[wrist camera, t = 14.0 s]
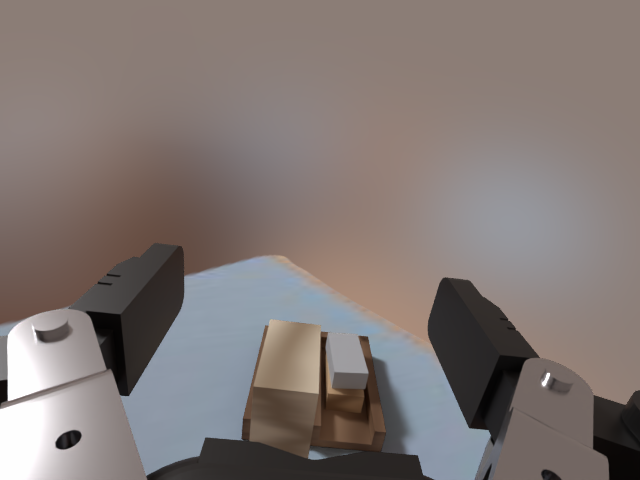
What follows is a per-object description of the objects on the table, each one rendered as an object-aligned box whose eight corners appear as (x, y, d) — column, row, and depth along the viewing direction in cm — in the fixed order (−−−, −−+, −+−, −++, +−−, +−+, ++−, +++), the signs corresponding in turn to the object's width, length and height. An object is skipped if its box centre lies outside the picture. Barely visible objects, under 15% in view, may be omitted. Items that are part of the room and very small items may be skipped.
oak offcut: (325, 409, 42) (328, 393, 41) (324, 362, 49) (327, 347, 48) (360, 413, 42) (364, 397, 41) (354, 365, 50) (357, 350, 49)
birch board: (240, 559, 29) (253, 386, 22) (256, 473, 35) (270, 319, 28) (290, 564, 29) (318, 393, 22) (297, 477, 35) (320, 325, 28)
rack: (241, 439, 38) (243, 418, 37) (263, 342, 53) (265, 325, 52) (380, 452, 39) (386, 432, 38) (364, 353, 54) (367, 336, 53)
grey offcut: (331, 388, 42) (334, 372, 41) (325, 347, 48) (327, 332, 48) (364, 389, 42) (368, 373, 41) (354, 348, 49) (357, 334, 48)
